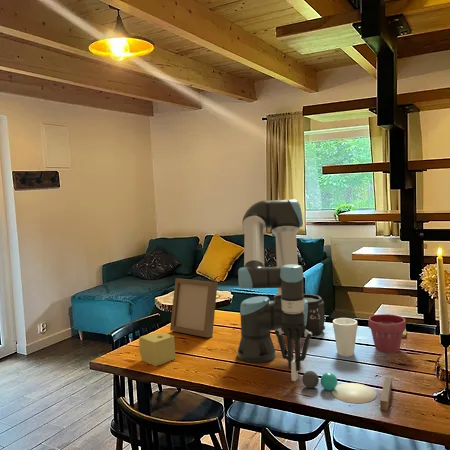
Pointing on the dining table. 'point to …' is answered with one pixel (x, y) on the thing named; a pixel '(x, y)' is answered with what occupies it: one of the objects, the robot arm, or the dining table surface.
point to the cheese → (157, 348)
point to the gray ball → (310, 379)
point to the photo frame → (194, 307)
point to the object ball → (328, 381)
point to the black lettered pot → (314, 314)
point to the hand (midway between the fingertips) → (294, 379)
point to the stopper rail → (386, 394)
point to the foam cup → (345, 335)
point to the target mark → (354, 393)
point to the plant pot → (387, 332)
